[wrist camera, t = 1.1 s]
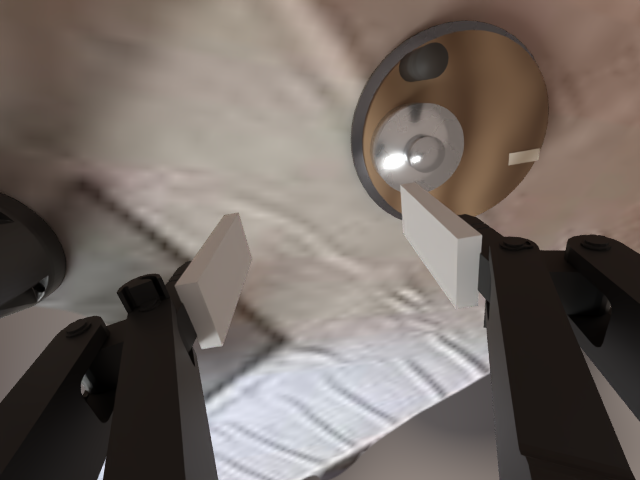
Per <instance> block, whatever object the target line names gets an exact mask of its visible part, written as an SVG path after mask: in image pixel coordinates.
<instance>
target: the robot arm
mask: <svg viewBox="0 0 640 480" xmlns="http://www.w3.org/2000/svg"><path fill="white" fill-rule="evenodd" d="M400 189H401V206H402V223H403V234H404V236H405V237H406V238H407V240H408V241H409V243H410V244H411V246H412V247H413V248H414V250H415V251H416V253H417V254H418V256H419V257H420V258H421V260H422V261H423V263H424V264H425V266H426V267H427V268H428V270H429V271H430V273H431V274H432V276H433V277H434V278H435V280H436V281H437V283H438V284H439V286H440V287H441V288H442V290H443V291H444V293H445V294H446V296H447V297H448V298H449V300H450V301H451V303H452V304H453V306H454V307H455V308H456V309H460V308H467V307H473V306H478V296H479V292H480V293H481V294H482V295H483V297H484V298H485V299H486V302H485V316H484V328H487V340H488V351H489V363H490V375H491V384H492V385H491V386H492V398H493V408H494V421H495V431H496V432H495V433H496V444H497V455H498V467H499V480H636V479H635V477H634V475H633V473H632V471H631V469H630V467H629V464H628V462H627V460H626V457H625V455H624V452H623V450H622V448H621V445H620V443H619V440H618V438H617V436H616V434H615V431H614V428H613V426H612V423H611V421H610V419H609V416H608V414H607V412H606V409H605V407H604V404H603V402H602V399H601V397H600V394H599V392H598V390H597V387H596V385H595V382H594V380H593V378H592V375H591V373H590V370H589V368H588V366H587V363H586V361H585V358H584V356H583V353H582V351H581V349H580V347H581V348H582V349H583V351H584V352H585V353H586V355H587V356H588V357H589V358H590V360H591V361H592V362H593V363H594V365H595V366H596V367H597V368H598V370H599V371H600V372H601V373H602V375H603V376H604V377H605V378H606V380H607V381H608V382H609V383H610V385H611V386H612V387H613V388H614V390H615V391H616V392H617V394H618V395H619V396H620V397H621V399H622V400H623V401H624V402H625V404H626V405H627V406H628V407H629V409H630V410H631V411H632V412H633V414H634V415H635V416H636V417H637V419H638V420H639V421H640V254H639V253H637V252H635V251H634V250H632V249H631V248H629V247H627V246H626V245H624V244H623V243H621V242H619V241H617V240H614V239H611V238H607V237H605V236H601V235H598V236H597V235H580V236H574V237H572V238H570V239H568V242H567V246H566V251H544V250H539V247H538V246H537V245H536V243H534V242H532V241H530V240H528V239H524V238H520V237H503V236H502V235H501V234H499V233H498V232H496V231H495V230H494V229H492V228H490V227H489V226H488V225H487V224H484V222H482V221H481V220H480V219H478V218H477V217H474V216H471V215H467V214H462V215H456V214H455V213H454V212H452V211H451V210H450V209H449V208H447V207H446V206H445V205H444V204H442V203H441V202H440V201H438V200H437V199H436V198H435V197H433V196H432V195H431V194H430V193H428V192H427V191H426V190H425V189H423V188H422V187H421V186H419V185H418V184H417V183H416V182H413V183H408V184H402V185H400ZM251 261H252V257H251V253H250V250H249V246H248V243H247V240H246V236H245V233H244V230H243V226H242V223H241V219H240V216H239V213H234V214H228V215H224V216H223V218H222V219H221V220H220V222H219V223H218V225H217V226H216V227H215V229H214V230H213V232H212V233H211V235H210V236H209V237H208V239H207V240H206V242H205V243H204V245H203V246H202V247H201V249H200V250H199V252H198V253H197V254H196V256H195V257H194V259H193V260H192V261H188V262H186V263H185V264H183V265H182V266H180V267H179V268H178V269H177V270H176V272H175V273H174V274H173V276H172V277H171V278H170V280H169V282H167V284H166V285H165V284H164V282H163V280H162V278H161V276H160V275H159V274H147V275H143V276H140V277H137V278H135V279H133V280H131V281H129V282H127V283H125V284H124V285H123V286H122V287H120V288H119V290H118V291H117V294H118V296H119V298H120V300H121V302H122V304H123V305H124V307H125V309H126V311H127V313H128V316H127V319H126V320H123V321H120V322H117V323H114V324H111V325H108V326H106V325H105V323H104V321H103V320H102V318H101V317H99V316H92V317H87V318H84V319H79V320H77V321H75V322H73V323H71V324H69V325H68V326H67V327H66V328H64V329H63V330H61V331H60V332H59V333H58V334H57V335H56V336H55V337H54V339H53V340H52V341H51V342H50V343H49V345H48V346H47V347H46V348H45V350H44V351H43V352H42V353H41V354H40V356H39V357H38V358H37V359H36V360H35V362H34V363H33V364H32V365H31V366H30V368H29V369H28V370H27V371H26V373H25V374H24V375H23V376H22V378H21V379H20V380H19V381H18V382H17V383H16V385H15V386H14V387H13V388H12V389H11V391H10V392H9V393H8V394H7V396H6V397H5V398H4V399H3V400H2V402H1V403H0V480H97V479H98V476H99V474H100V471H101V469H102V466H103V464H104V461H105V459H106V463H105V470H104V476H103V480H218V476H217V470H216V464H215V459H214V453H213V447H212V442H211V436H210V430H209V424H208V419H207V413H206V407H205V402H204V396H203V390H202V384H201V379H200V373H199V367H198V362H197V356H196V353H195V351H194V349H193V347H192V346H193V343H194V341H195V339H196V337H197V339H198V341H199V343H200V346H201V348H202V349H206V348H212V347H219V346H223V343H224V340H225V337H226V334H227V331H228V328H229V325H230V323H231V320H232V317H233V314H234V311H235V308H236V305H237V302H238V299H239V296H240V293H241V290H242V287H243V284H244V281H245V279H246V276H247V273H248V270H249V267H250V264H251ZM65 268H66V264H65V256H64V253H63V250H62V247H61V245H60V243H59V241H58V239H57V237H56V236H55V234H54V233H53V231H52V230H51V229H50V227H49V226H48V225H47V224H46V223H45V222H44V221H43V220H42V219H41V218H40V217H39V216H38V215H37V214H36V213H34V212H33V211H32V210H31V209H29V208H28V207H26V206H25V205H23V204H22V203H20V202H18V201H16V200H15V199H13V198H11V197H8V196H6V195H4V194H1V193H0V318H2V317H5V316H8V315H11V314H13V313H16V312H19V311H22V310H24V309H27V308H30V307H32V306H34V305H36V304H37V303H39V302H41V301H42V300H43V299H45V298H46V297H47V296H49V295H50V294H51V293H53V292H54V291H55V290H56V289H57V288H58V287H59V285H60V284H61V282H62V280H63V278H64V275H65ZM610 306H611V307H610ZM81 383H82V385H83V386H84V388H85V389H86V390H85V392H84V394H83V395H82V394H81Z"/></svg>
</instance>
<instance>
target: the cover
mask: <svg viewBox="0 0 640 480" xmlns="http://www.w3.org/2000/svg"><path fill="white" fill-rule="evenodd" d="M463 150H464V135H463V130H462V127H461V125H460V123H459V121H458V119H457V118H456V117H455V116H454V114H453V113H452V112H450V111H449V110H448V109H446V108H444V107H442V106H440V105H437V104H432V103H407V104H403V105H400V106H398V107H396V108H394V109H392V110H391V111H389V112H388V113H387V114H386V115H385V116H384V117H383V118H382V119H381V120H380V121H379V123H378V124H377V126H376V128H375V130H374V132H373V135H372V138H371V142H370V157H371V161H372V164H373V166H374V168H375V170H376V171H377V173H378V174H379V175H380V176H381V177H382V179H383V180H384V181H385V182H386V183H387V184H388V185H389V186H391V187H392V188H394V189H395V190H397V191H399V192H401V189H400V185H402V184H408V183H413V182H416V183H417V184H418V185H419V186H421V187H422V188H423V189H425V190H426V191H427V192H429V191H432V190H434V189H436V188H438V187H439V186H441V185H442V184H443V183H445V182H446V181H447V180H448V179H449V178H450V177H451V176H452V174H453V173H454V172H455V170H456V169H457V167H458V165H459V163H460V161H461V158H462V155H463Z"/></svg>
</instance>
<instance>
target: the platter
mask: <svg viewBox="0 0 640 480" xmlns="http://www.w3.org/2000/svg"><path fill="white" fill-rule="evenodd" d="M407 103H432V104H437V105H440V106H442V107H444V108H446V109H448V110H449V111H450V112H452V113H453V114H454V116H455V117H456V118H457V119H458V121H459V123H460V125H461V127H462V130H463V135H464V150H463V155H462V158H461V161H460V163H459V165H458V167H457V169H456V170H455V172H454V173H453V174H452V176H451V177H450V178H449V179H448V180H447V181H446V182H445V183H443V184H442V185H441V186H439V187H438V188H436V189H434V190H432V191H429V192H428V193H430V194H431V195H432V196H433V197H435V198H436V199H437V200H438V201H440V202H441V203H442V204H444V205H445V206H446V207H447V208H449V209H450V210H451V211H452V212H454V213H455V214H456V215H462V214H467V215H471V216H477V215H479V214H481V213H483V212H485V211H487V210H488V209H490V208H492V207H493V206H495V205H496V204H498V203H499V202H500V201H502V200H503V199H504V198H506V197H507V196H508V195H509V194H510V193H511V192H512V191H513V190H514V189H515V188H516V187H517V186H518V185H519V184H520V182H521V181H522V180H523V179H524V177H525V176H526V175H527V173H528V172H529V170H530V169H531V167H532V165H533V164H534V162H535V161H537V160H538V159H539V151H540V149H541V147H542V144H543V140H544V137H545V134H546V129H547V124H548V112H549V107H548V95H547V89H546V85H545V82H544V79H543V76H542V73H541V71H540V70H539V68H538V66H537V64H536V62H535V61H534V60H533V58H532V57H531V56H530V55H529V53H528V52H527V51H526V50H525V49H523V48H522V47H521V46H520V45H519V44H517V43H516V42H514V41H513V40H511V39H509V38H507V37H505V36H502V35H500V34H497V33H493V32H489V31H483V30H466V31H457V32H453V33H450V34H446V35H443V36H440V37H438V38H436V39H433V40H431V41H429V42H426V43H424V44H423V45H421V46H419V47H418V48H416V49H414V50H412V51H411V52H409V53H407V54H406V55H404V56H403V58H402V59H401V60H400V61H399V62H398V63H397V64H396V65H395V66H394V67H393V68H392V69H391V70H390V71H389V73H388V74H387V75H386V76H385V78H384V79H383V80H382V82H381V83H380V85H379V87H378V88H377V90H376V92H375V94H374V96H373V98H372V100H371V102H370V105H369V108H368V111H367V114H366V117H365V122H364V127H363V136H362V149H363V157H364V163H365V166H366V169H367V173H368V175H369V177H370V179H371V181H372V183H373V185H374V186H375V188H376V189H377V191H378V192H379V194H380V195H381V196H382V197H383V199H384V200H385V201H386V202H387V203H388V204H389V205H390V206H392V207H393V208H394V209H395V210H397V211H398V212H400V213H402V206H401V192H399V191H397V190H395V189H394V188H392V187H391V186H389V185H388V184H387V183H386V182H385V181H384V180H383V179H382V177H381V176H380V175H379V174H378V173H377V171H376V170H375V168H374V166H373V164H372V161H371V157H370V142H371V138H372V135H373V132H374V130H375V128H376V126H377V124H378V123H379V121H380V120H381V119H382V118H383V117H384V116H385V115H386V114H387V113H388V112H389V111H391V110H392V109H394V108H396V107H398V106H400V105H403V104H407Z"/></svg>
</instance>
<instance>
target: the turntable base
mask: <svg viewBox="0 0 640 480" xmlns="http://www.w3.org/2000/svg"><path fill="white" fill-rule="evenodd" d="M466 30H483V31H489V32H493V33H497V34H500V35H502V36H505V37H507V38H509V39H511V40H513V41H514V42H516V43H517V44H519V45H520V46H521V47H522V48H523V49H525V50H526V51H527V52H528V53H529V55H530V56H531V57H532V58H533V56H532V55H531V53H530V52H529V51H528V49H527V48H526V47H525V46H524V45H523V44H522V43H521V42H520V41H519V40H518V39H517V38H516V37H515V36H513V35H512V34H510V33H508V32H507V31H505V30H504V29H501V28H499V27H496V26H494V25H491V24H487V23H483V22H478V21H456V22H448V23H444V24H441V25H437V26H434V27H431V28H429V29H427V30H424V31H422V32H420V33H418V34H416V35H415V36H413V37H411V38H410V39H408V40H406V41H405V42H403V43H402V44H401V45H399V46H398V47H397V48H395V49H394V50H393V51H392V52H391V53H390V54H389V55H388V56H387V57H386V58H385V59H384V60H383V61H382V62H381V63H380V64H379V66H378V67H377V68H376V69H375V71H374V72H373V73H372V75H371V77H370V78H369V80H368V81H367V83H366V85H365V86H364V89H363V91H362V93H361V95H360V97H359V100H358V103H357V106H356V109H355V112H354V117H353V122H352V129H351V152H352V157H353V162H354V166H355V169H356V172H357V175H358V177H359V179H360V181H361V183H362V185H363V187H364V188H365V190H366V191H367V193H368V194H369V196H370V197H371V198H372V199H373V200H374V201H375V202H376V204H377V205H379V206H380V207H381V208H382V209H383V210H385V211H386V212H388V213H389V214H391V215H392V216H394V217H396V218H398V219H401V220H402V213H400V212H398V211H397V210H395V209H394V208H393V207H392V206H390V205H389V204H388V203H387V202H386V201H385V200H384V199H383V197H382V196H381V195H380V194H379V192H378V191H377V189H376V188H375V186H374V185H373V183H372V181H371V179H370V177H369V175H368V173H367V169H366V166H365V163H364V157H363V149H362V136H363V127H364V122H365V117H366V114H367V111H368V108H369V105H370V102H371V100H372V98H373V96H374V94H375V92H376V90H377V88H378V87H379V85H380V83H381V82H382V80H383V79H384V78H385V76H386V75H387V74H388V73H389V71H390V70H391V69H392V68H393V67H394V66H395V65H396V64H397V63H398V62H399V61H400V60H401V59H402V58H403V56H404V55H406V54H407V53H409V52H411V51H412V50H414V49H416V48H418V47H419V46H421V45H423V44H424V43H426V42H429V41H431V40H433V39H436V38H438V37H440V36H443V35H446V34H450V33H453V32H457V31H466ZM533 60H534V58H533ZM534 61H535V60H534ZM535 62H536V61H535ZM536 64H537V63H536ZM537 66H538V65H537ZM538 68H539V67H538Z"/></svg>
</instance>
